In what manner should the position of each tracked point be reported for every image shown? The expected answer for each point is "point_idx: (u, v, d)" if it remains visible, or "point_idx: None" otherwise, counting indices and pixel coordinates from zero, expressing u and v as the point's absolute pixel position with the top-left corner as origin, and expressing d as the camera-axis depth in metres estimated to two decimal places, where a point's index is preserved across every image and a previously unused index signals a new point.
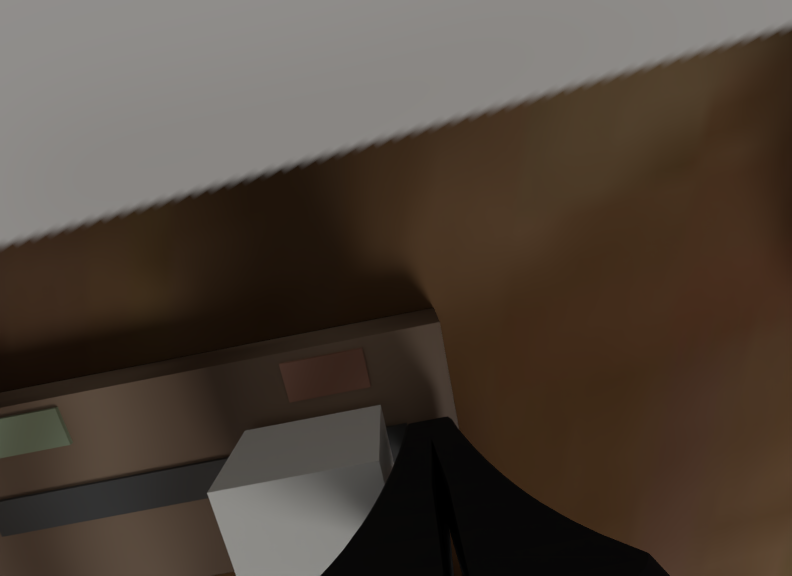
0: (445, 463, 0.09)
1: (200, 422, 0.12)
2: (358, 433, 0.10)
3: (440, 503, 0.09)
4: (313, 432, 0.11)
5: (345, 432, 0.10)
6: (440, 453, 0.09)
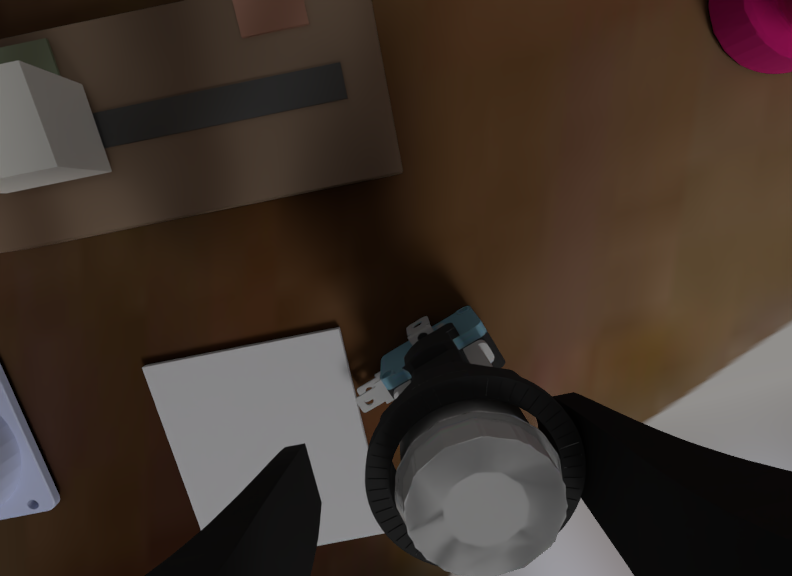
0: (611, 432, 0.08)
1: (167, 58, 0.14)
2: None
3: (287, 531, 0.09)
4: None
5: None
6: (597, 424, 0.09)
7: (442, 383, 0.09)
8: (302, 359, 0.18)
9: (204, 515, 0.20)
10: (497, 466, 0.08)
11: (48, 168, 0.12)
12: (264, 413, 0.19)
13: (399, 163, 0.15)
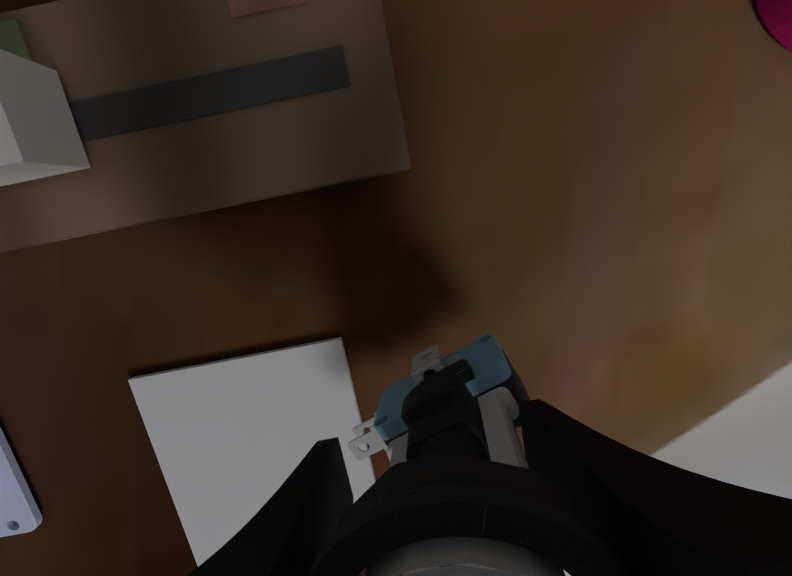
0: (565, 441, 0.08)
1: (150, 41, 0.13)
2: None
3: (328, 524, 0.09)
4: None
5: None
6: (554, 432, 0.09)
7: (411, 509, 0.06)
8: (301, 371, 0.17)
9: (196, 537, 0.18)
10: None
11: (13, 163, 0.11)
12: (260, 429, 0.17)
13: (407, 158, 0.14)
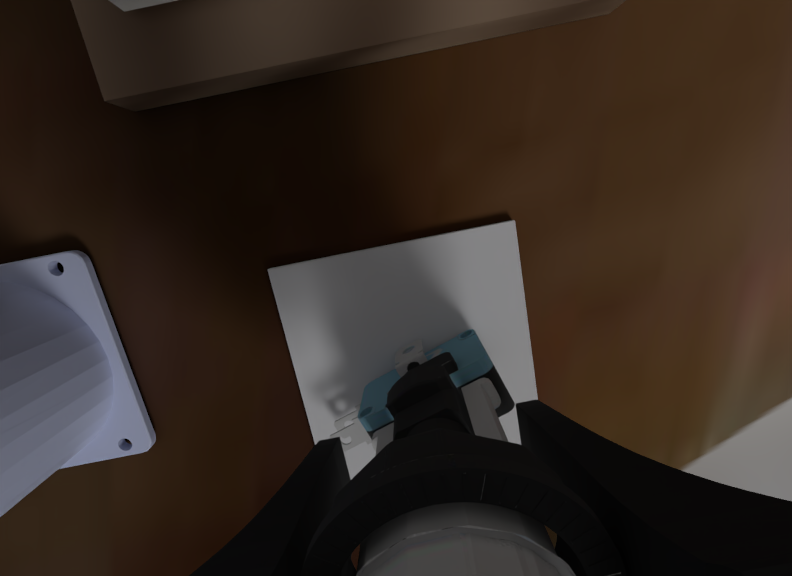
0: (562, 441, 0.08)
1: None
2: None
3: None
4: None
5: None
6: (551, 432, 0.09)
7: (415, 476, 0.06)
8: (466, 260, 0.14)
9: None
10: None
11: None
12: (413, 330, 0.15)
13: None
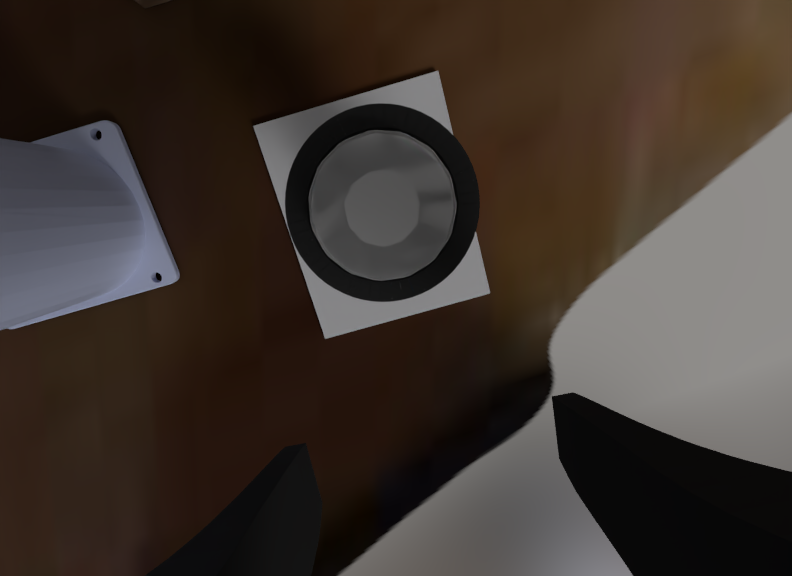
0: (610, 432, 0.08)
1: None
2: None
3: (288, 531, 0.09)
4: None
5: None
6: (597, 424, 0.09)
7: (344, 113, 0.10)
8: None
9: (315, 284, 0.21)
10: (388, 164, 0.10)
11: None
12: None
13: None
